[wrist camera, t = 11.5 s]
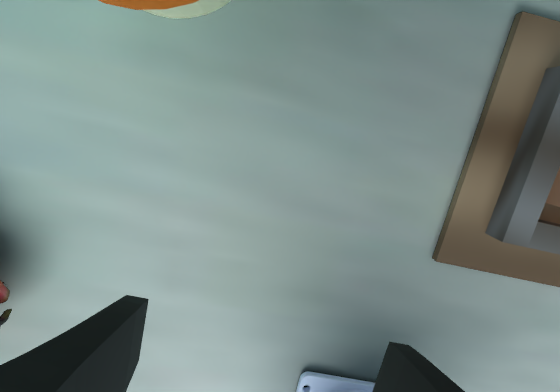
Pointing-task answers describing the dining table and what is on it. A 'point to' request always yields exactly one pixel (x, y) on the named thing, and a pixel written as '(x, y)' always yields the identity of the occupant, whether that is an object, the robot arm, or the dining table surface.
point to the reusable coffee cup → (172, 7)
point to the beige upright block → (555, 192)
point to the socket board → (512, 165)
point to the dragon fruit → (0, 296)
